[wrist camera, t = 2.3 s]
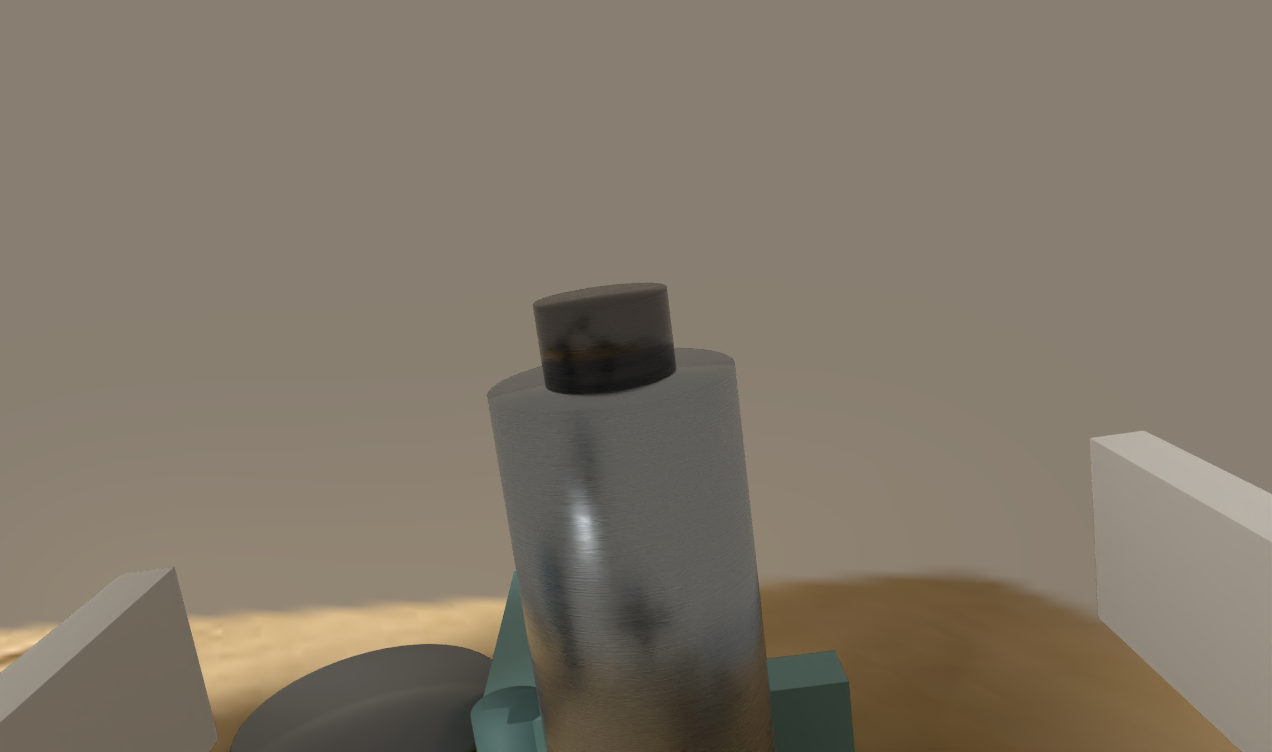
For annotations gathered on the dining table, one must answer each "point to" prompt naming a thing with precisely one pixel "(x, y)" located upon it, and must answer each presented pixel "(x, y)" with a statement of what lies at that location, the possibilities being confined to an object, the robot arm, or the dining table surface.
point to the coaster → (375, 704)
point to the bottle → (633, 532)
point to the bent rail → (799, 684)
